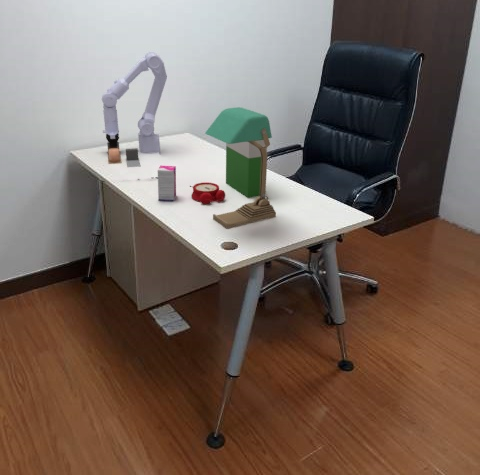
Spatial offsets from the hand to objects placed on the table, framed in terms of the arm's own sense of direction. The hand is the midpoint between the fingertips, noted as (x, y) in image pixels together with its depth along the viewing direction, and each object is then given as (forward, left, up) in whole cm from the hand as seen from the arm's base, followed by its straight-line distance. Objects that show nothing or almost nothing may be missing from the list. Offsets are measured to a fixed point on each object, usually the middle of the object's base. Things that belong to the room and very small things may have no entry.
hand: (113, 150), depth 222 cm
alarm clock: (-31, +61, -3) cm, 68 cm away
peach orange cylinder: (0, +7, -2) cm, 8 cm away
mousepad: (-18, +36, -3) cm, 40 cm away
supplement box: (-17, +57, -2) cm, 60 cm away
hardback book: (-47, +53, -2) cm, 71 cm away
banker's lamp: (-39, +80, -2) cm, 89 cm away
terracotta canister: (0, +12, -1) cm, 13 cm away
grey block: (-7, +16, -2) cm, 18 cm away
